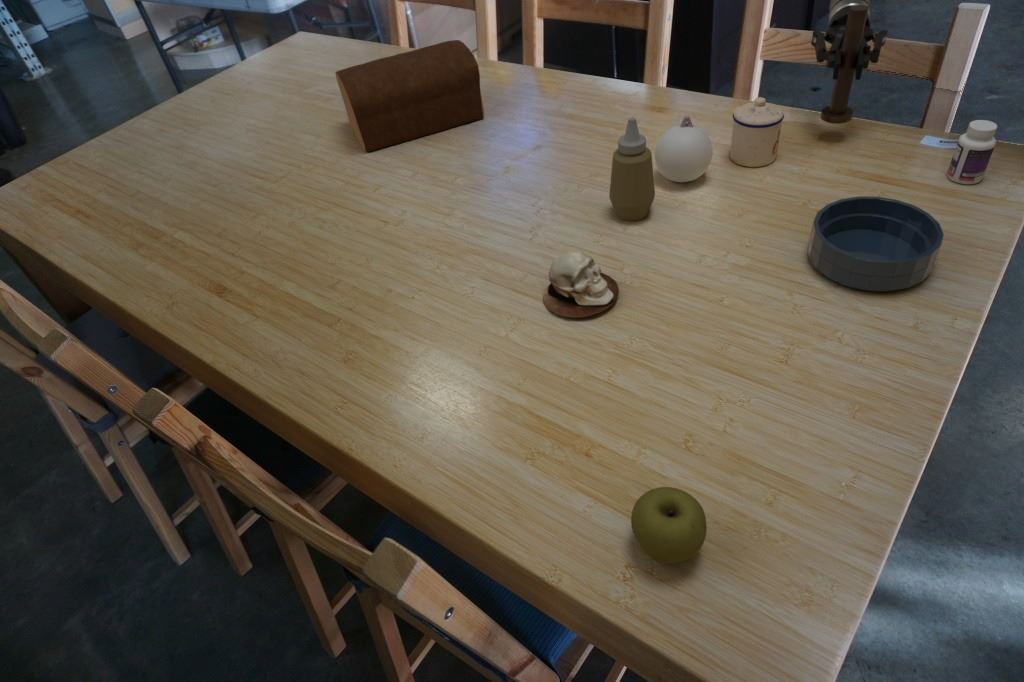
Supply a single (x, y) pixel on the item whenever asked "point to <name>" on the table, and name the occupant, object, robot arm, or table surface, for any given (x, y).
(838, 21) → the robot arm
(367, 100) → the bread
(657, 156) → the ornament
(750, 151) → the teacup with lid
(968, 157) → the pill bottle
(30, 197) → the table surface
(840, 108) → the stirrer
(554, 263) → the skull
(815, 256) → the bowl
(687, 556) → the apple
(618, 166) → the squeeze bottle
